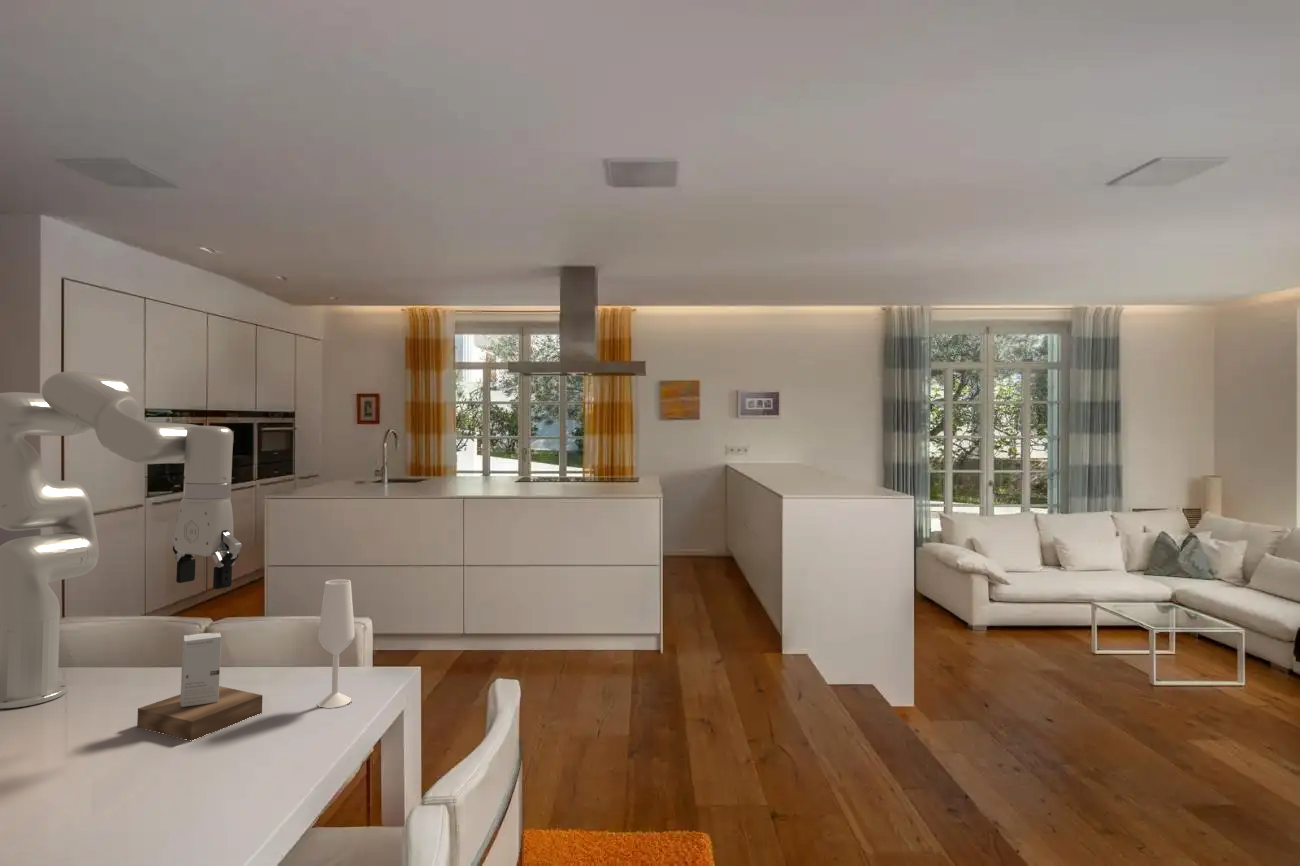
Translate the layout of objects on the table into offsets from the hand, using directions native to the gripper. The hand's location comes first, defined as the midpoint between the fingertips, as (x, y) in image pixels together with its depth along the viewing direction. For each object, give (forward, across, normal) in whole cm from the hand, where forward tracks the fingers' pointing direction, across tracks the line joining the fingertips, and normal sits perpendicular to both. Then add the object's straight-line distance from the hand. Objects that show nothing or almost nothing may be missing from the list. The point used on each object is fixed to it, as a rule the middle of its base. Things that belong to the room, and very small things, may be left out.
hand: (203, 584), depth 133 cm
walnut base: (+26, +1, 0) cm, 26 cm away
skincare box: (+22, 0, 0) cm, 22 cm away
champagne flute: (+25, +16, +17) cm, 34 cm away
